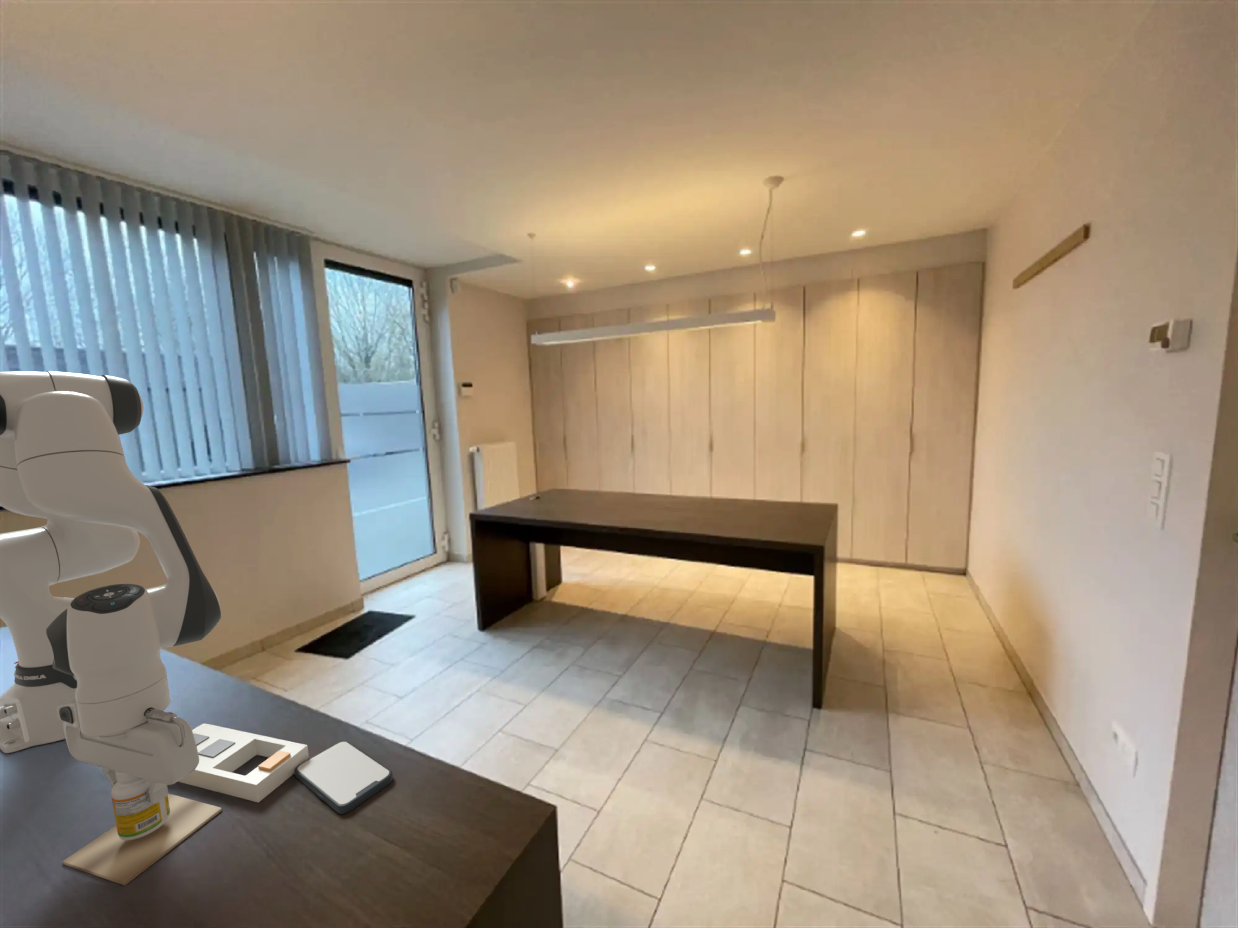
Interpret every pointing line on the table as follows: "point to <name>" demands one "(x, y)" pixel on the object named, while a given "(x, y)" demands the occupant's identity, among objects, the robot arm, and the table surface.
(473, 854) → the table surface
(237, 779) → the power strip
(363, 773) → the phone case
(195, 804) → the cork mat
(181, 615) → the robot arm
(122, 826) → the supplement bottle
